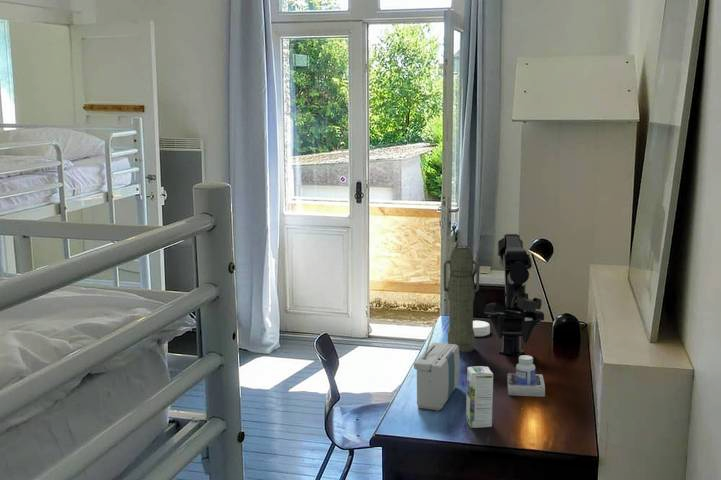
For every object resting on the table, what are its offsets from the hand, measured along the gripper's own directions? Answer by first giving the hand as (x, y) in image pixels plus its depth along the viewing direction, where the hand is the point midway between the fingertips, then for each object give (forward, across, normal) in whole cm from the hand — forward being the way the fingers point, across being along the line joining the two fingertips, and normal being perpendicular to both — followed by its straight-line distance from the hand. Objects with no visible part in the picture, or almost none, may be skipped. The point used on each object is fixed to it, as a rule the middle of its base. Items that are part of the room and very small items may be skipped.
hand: (512, 340), depth 234 cm
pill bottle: (+15, -1, -8) cm, 17 cm away
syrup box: (+26, -24, -21) cm, 41 cm away
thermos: (+1, +2, +31) cm, 31 cm away
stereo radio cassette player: (+20, -26, -2) cm, 33 cm away
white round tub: (-7, +15, +43) cm, 46 cm away
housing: (+15, -1, -8) cm, 17 cm away
